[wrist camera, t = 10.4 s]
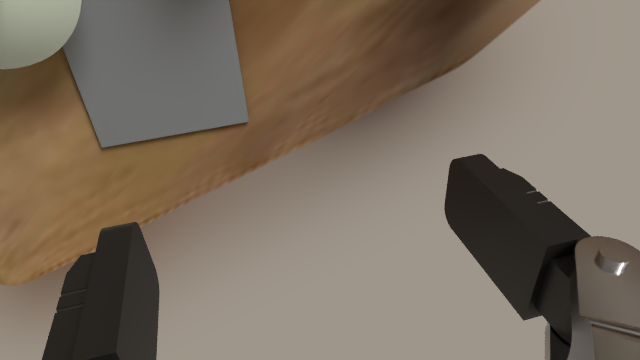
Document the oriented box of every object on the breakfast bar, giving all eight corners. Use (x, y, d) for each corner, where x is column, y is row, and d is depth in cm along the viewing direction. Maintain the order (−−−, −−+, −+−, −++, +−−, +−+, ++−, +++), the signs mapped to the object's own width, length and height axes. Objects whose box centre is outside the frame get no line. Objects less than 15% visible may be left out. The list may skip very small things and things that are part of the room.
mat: (223, -32, 37) (223, -31, 37) (248, 119, 45) (249, 121, 45) (41, -12, 34) (39, -11, 34) (102, 144, 42) (101, 147, 42)
